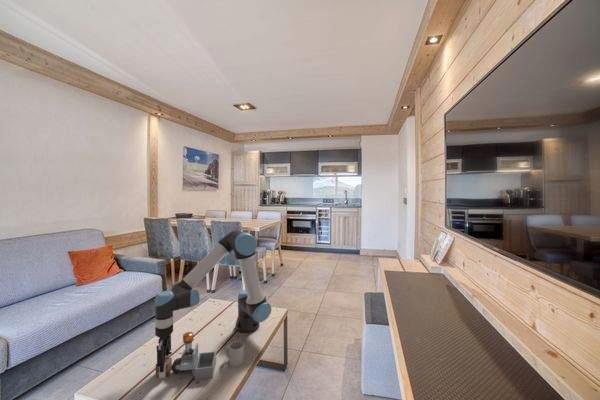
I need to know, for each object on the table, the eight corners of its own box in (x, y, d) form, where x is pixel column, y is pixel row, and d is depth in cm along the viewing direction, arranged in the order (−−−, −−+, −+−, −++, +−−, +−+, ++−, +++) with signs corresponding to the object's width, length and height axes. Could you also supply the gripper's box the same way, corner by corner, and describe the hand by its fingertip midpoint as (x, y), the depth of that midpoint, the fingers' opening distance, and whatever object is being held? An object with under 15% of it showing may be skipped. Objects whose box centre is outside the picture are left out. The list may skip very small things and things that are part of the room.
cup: (239, 368, 127) (239, 350, 127) (221, 364, 130) (221, 346, 130) (246, 358, 134) (246, 342, 134) (229, 355, 137) (229, 338, 137)
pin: (194, 352, 129) (194, 331, 129) (192, 359, 125) (192, 336, 124) (184, 353, 129) (184, 332, 128) (182, 360, 124) (181, 337, 123)
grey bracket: (198, 363, 131) (198, 343, 130) (194, 376, 122) (194, 354, 121) (175, 365, 129) (174, 345, 128) (169, 379, 120) (169, 356, 119)
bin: (216, 360, 133) (216, 351, 132) (212, 377, 121) (212, 367, 121) (199, 362, 131) (199, 353, 131) (194, 379, 119) (194, 369, 119)
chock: (171, 369, 126) (171, 357, 126) (168, 376, 121) (168, 364, 121) (159, 370, 125) (159, 358, 125) (155, 378, 120) (155, 365, 120)
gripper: (162, 316, 131) (162, 361, 132) (148, 336, 113) (148, 388, 114) (178, 315, 132) (178, 359, 133) (166, 335, 114) (166, 386, 115)
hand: (164, 372), depth 123 cm, fingers open, 5 cm apart
